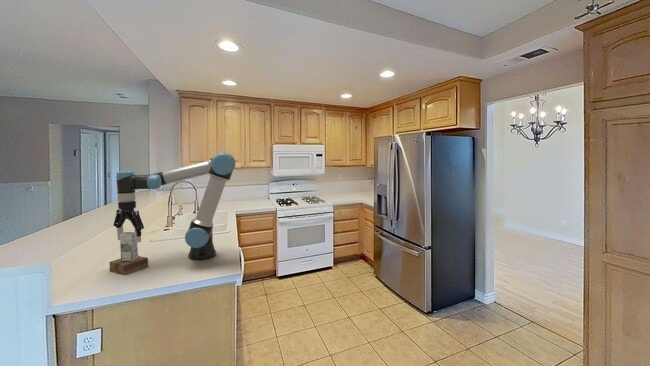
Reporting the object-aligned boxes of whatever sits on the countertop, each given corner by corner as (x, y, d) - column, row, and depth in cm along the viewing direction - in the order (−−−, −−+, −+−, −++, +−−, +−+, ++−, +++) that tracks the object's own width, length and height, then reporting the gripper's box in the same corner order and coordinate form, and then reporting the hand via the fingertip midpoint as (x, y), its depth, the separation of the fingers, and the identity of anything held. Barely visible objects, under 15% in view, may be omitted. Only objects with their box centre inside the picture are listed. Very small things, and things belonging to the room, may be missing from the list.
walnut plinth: (148, 266, 150) (147, 257, 149) (125, 275, 139) (124, 265, 138) (133, 263, 154) (132, 254, 154) (109, 271, 143) (109, 261, 143)
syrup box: (138, 257, 149) (137, 231, 148) (132, 261, 143) (131, 234, 142) (126, 258, 148) (125, 231, 147) (120, 262, 143) (119, 234, 141)
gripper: (150, 201, 142) (152, 241, 144) (118, 198, 151) (121, 236, 153) (136, 203, 135) (138, 245, 137) (103, 200, 144) (106, 240, 146)
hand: (129, 241), depth 145 cm, fingers open, 13 cm apart
